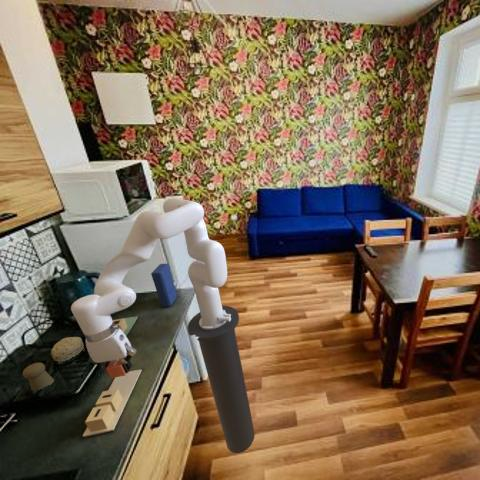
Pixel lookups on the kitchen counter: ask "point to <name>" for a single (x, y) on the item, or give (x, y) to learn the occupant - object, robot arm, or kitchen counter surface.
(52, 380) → the cork
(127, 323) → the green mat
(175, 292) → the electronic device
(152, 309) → the kitchen counter surface
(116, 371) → the letter block
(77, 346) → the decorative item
